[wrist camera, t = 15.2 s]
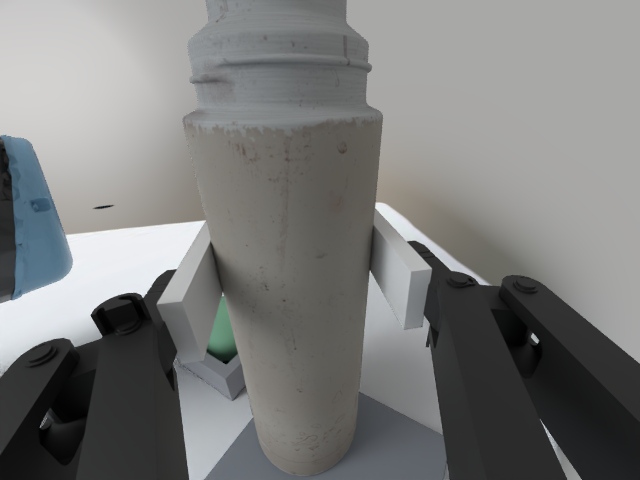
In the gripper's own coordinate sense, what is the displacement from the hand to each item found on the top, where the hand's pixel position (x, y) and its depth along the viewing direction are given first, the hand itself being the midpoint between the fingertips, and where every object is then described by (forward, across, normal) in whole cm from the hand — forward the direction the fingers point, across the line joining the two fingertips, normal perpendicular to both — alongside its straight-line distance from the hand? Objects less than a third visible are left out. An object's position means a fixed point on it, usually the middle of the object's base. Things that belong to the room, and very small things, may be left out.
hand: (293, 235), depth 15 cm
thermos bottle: (-1, 0, -16) cm, 16 cm away
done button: (+8, -7, -15) cm, 19 cm away
